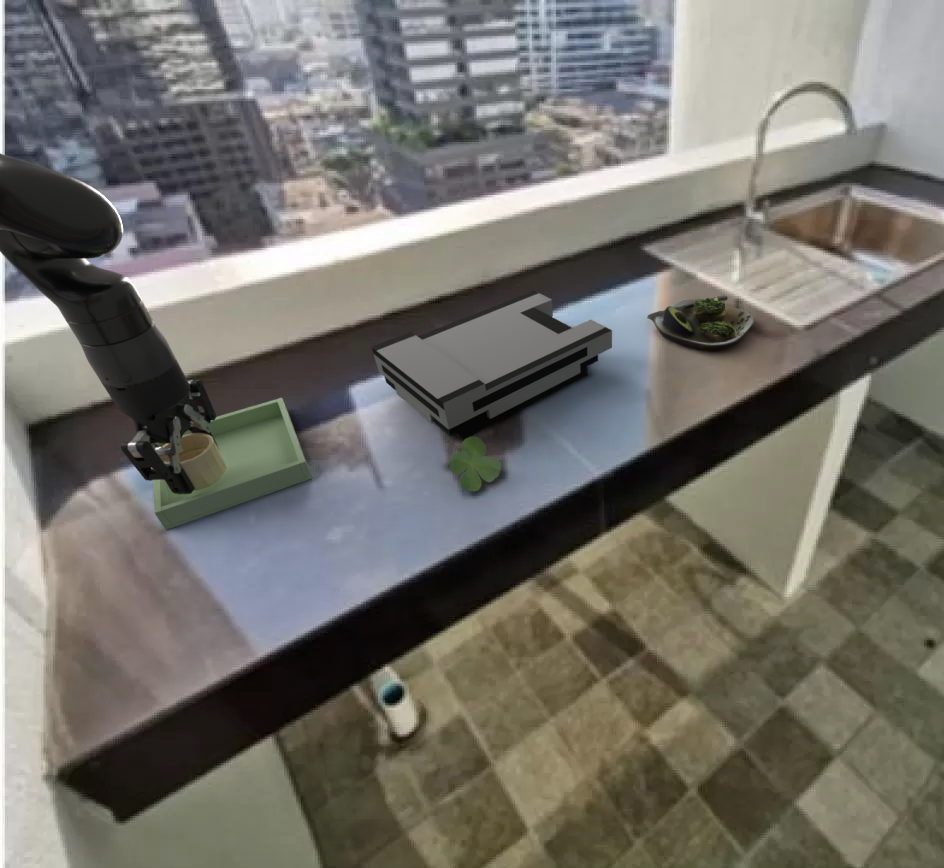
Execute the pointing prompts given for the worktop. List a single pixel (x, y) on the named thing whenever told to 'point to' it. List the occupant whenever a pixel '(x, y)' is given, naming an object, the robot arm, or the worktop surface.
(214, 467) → the beige cup
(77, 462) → the worktop surface
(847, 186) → the worktop surface
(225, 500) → the tray
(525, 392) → the game console
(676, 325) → the salad plate
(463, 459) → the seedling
